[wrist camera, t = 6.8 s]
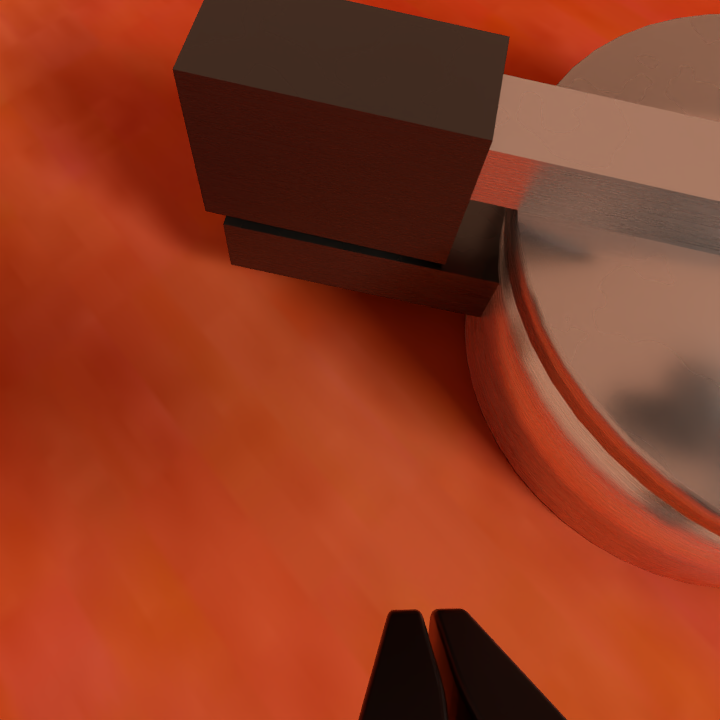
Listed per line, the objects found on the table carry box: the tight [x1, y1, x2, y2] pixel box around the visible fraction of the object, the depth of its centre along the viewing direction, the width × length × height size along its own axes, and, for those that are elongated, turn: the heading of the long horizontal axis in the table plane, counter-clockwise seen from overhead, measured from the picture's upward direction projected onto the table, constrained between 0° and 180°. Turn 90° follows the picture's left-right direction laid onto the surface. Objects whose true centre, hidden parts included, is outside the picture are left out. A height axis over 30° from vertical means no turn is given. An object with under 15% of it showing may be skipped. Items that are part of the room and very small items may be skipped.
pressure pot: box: [223, 200, 720, 588], centre depth 20 cm, size 26×16×6 cm, turn 79°
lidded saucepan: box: [173, 0, 720, 536], centre depth 16 cm, size 25×17×5 cm
